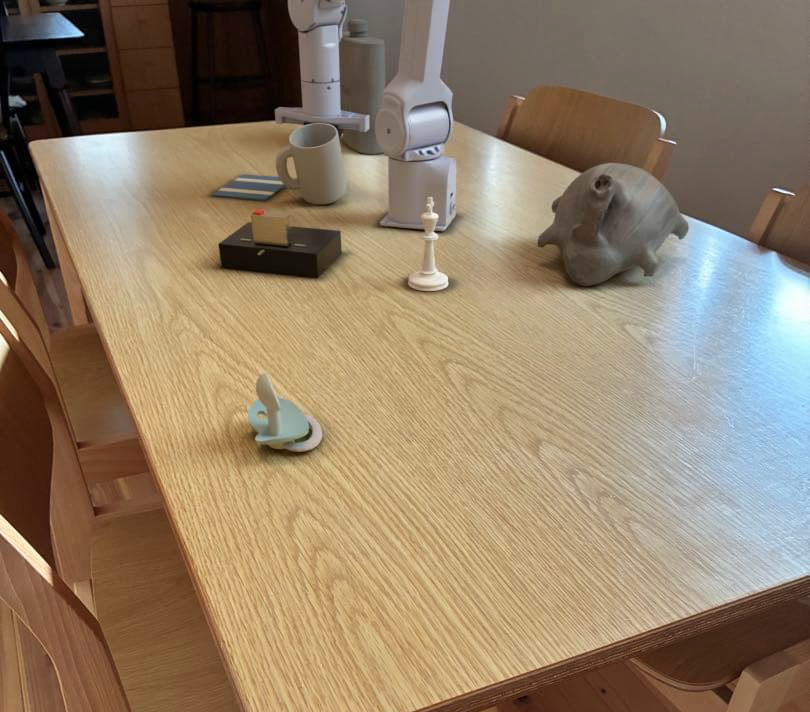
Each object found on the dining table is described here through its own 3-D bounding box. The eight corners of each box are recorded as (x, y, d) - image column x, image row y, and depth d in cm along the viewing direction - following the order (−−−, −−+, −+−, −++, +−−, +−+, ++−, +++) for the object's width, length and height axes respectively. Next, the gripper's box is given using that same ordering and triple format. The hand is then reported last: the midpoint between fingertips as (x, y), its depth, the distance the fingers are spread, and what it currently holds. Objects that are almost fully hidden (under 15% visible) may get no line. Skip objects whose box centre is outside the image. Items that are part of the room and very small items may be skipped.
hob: (341, 253, 106) (340, 229, 104) (311, 285, 97) (309, 259, 95) (250, 244, 109) (247, 220, 107) (213, 274, 100) (209, 248, 98)
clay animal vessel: (638, 293, 92) (592, 174, 88) (533, 328, 105) (487, 225, 100) (705, 237, 102) (665, 127, 98) (601, 275, 115) (562, 179, 110)
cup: (349, 201, 122) (339, 143, 115) (284, 212, 122) (270, 154, 115) (345, 176, 127) (336, 119, 119) (282, 186, 127) (269, 130, 120)
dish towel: (293, 180, 133) (293, 178, 133) (265, 201, 124) (264, 198, 124) (243, 176, 135) (243, 174, 135) (211, 196, 126) (211, 194, 126)
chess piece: (453, 279, 99) (457, 193, 93) (441, 293, 95) (444, 206, 89) (415, 274, 100) (416, 189, 94) (402, 288, 97) (402, 201, 90)
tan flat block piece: (292, 242, 100) (289, 211, 98) (287, 246, 99) (284, 215, 97) (258, 239, 101) (255, 208, 99) (253, 243, 100) (250, 212, 98)
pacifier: (311, 414, 73) (246, 422, 72) (309, 350, 70) (239, 357, 68) (331, 455, 68) (260, 465, 66) (329, 389, 64) (254, 398, 63)
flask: (336, 137, 157) (330, 15, 144) (364, 135, 158) (361, 14, 146) (359, 156, 146) (355, 25, 133) (389, 153, 147) (388, 24, 135)
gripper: (375, 78, 120) (375, 174, 129) (284, 70, 123) (291, 165, 132) (360, 87, 115) (362, 187, 124) (266, 79, 118) (274, 177, 127)
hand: (324, 176), depth 127 cm, fingers closed
